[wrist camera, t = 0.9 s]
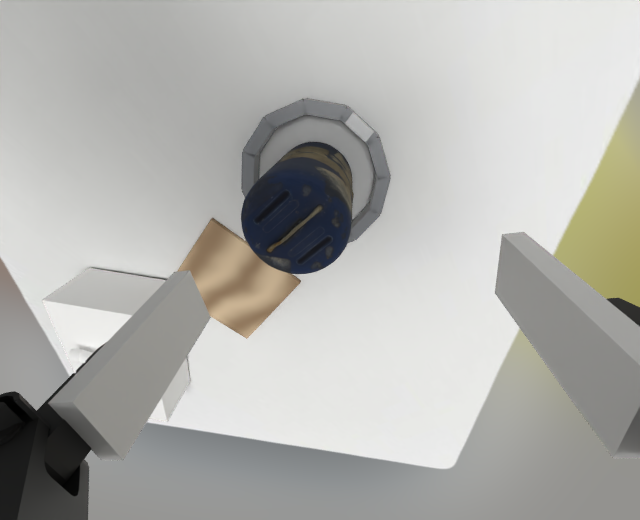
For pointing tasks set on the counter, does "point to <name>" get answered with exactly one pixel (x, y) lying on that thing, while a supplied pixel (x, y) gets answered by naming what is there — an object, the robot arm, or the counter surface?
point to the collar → (332, 112)
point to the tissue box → (105, 320)
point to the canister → (301, 210)
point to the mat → (235, 279)
